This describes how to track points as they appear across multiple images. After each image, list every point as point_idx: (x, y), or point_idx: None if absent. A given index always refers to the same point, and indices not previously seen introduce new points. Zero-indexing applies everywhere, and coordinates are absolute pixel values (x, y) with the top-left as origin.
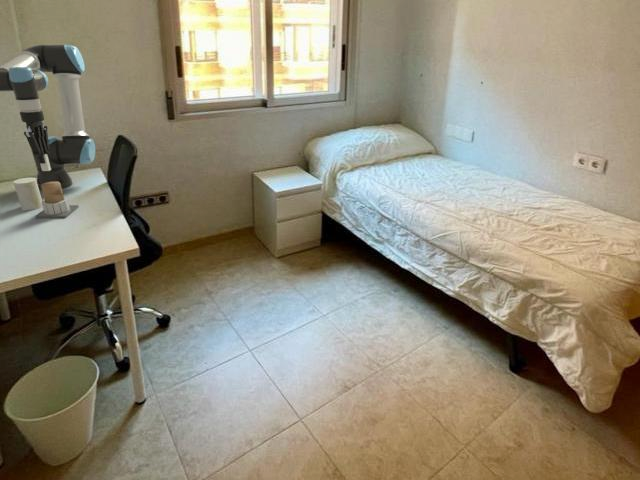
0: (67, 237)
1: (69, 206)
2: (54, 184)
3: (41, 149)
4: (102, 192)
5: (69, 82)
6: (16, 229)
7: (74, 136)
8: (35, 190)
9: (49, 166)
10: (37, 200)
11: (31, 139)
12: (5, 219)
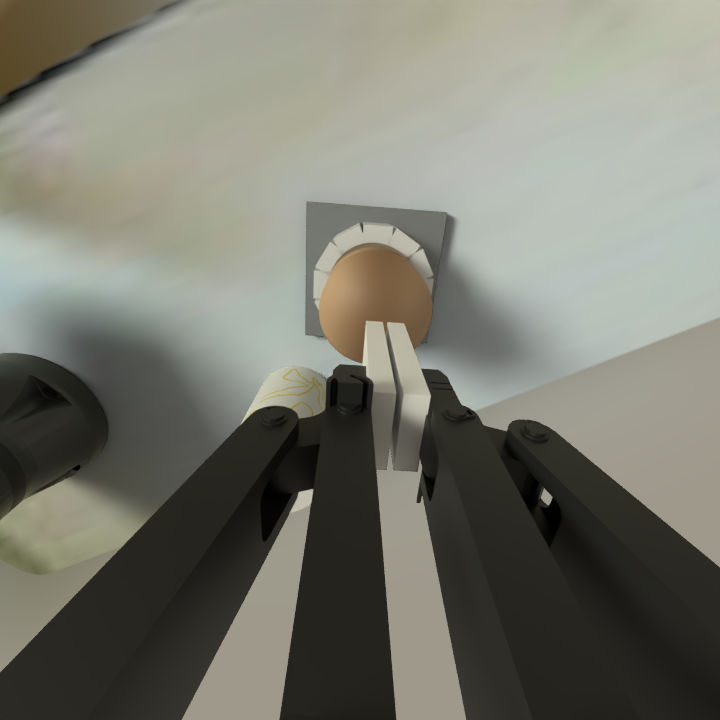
0: (703, 105)
1: (359, 223)
2: (384, 285)
3: (499, 464)
4: (74, 146)
5: None
6: (527, 360)
7: None
8: (295, 408)
9: (380, 333)
10: (307, 385)
11: None
12: None
